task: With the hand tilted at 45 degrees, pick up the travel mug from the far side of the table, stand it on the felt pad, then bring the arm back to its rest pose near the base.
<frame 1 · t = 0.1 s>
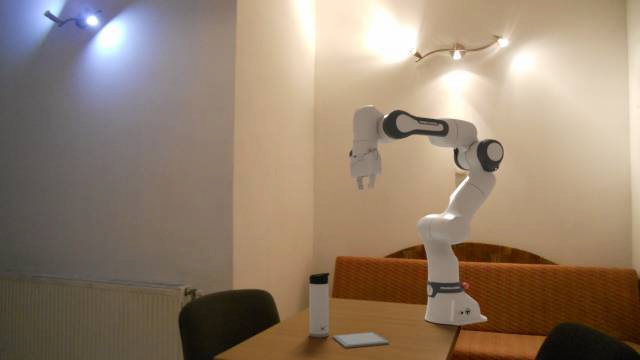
hand: (365, 189, 163), 48 cm above the table, tool pointing down, fingers open, 8 cm apart
felt pad: (359, 340, 141), on the table
travel mug: (319, 335, 148), on the table
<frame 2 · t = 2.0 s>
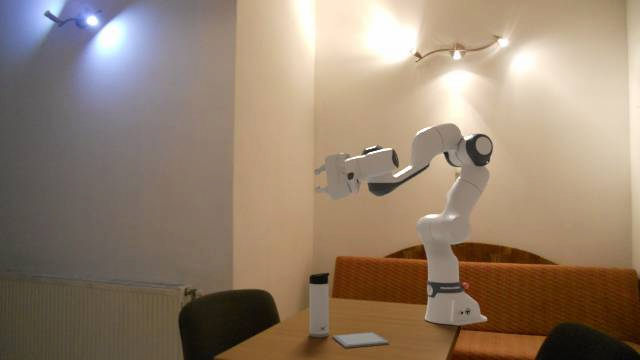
hand: (315, 181, 163), 51 cm above the table, tool horizontal, fingers open, 8 cm apart
nothing on the table moved.
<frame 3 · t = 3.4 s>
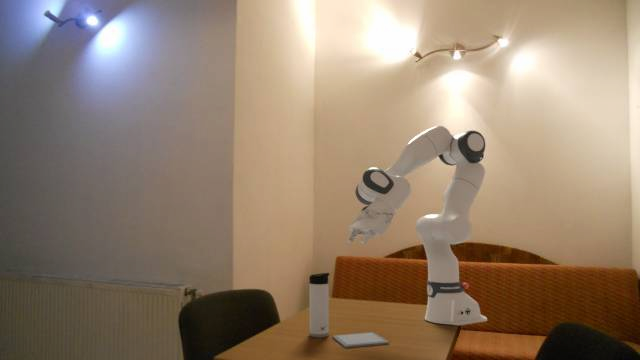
hand: (355, 241, 158), 30 cm above the table, tool tilted 45°, fingers open, 8 cm apart
nothing on the table moved.
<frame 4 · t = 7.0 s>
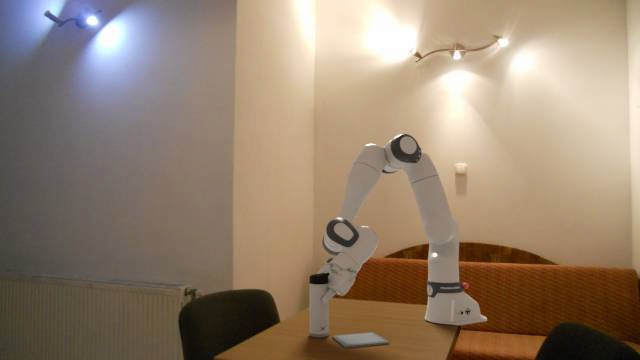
hand: (317, 299, 149), 11 cm above the table, tool tilted 45°, fingers closed on travel mug, 6 cm apart
travel mug: (319, 335, 148), on the table, touching gripper
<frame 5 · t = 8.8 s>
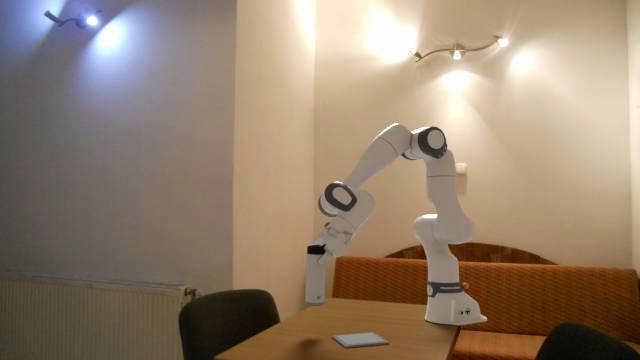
hand: (314, 261, 152), 23 cm above the table, tool tilted 45°, fingers closed on travel mug, 6 cm apart
travel mug: (315, 304, 151), point 9 cm above the table, touching gripper
when the fingers open (14 cm above the table, at t = 13.2 s): travel mug stays where it is, resting on felt pad.
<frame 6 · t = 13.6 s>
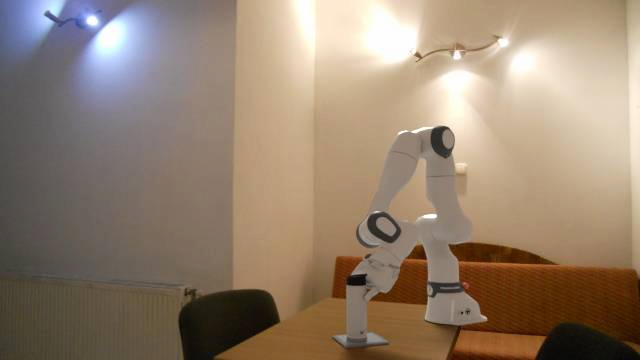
hand: (357, 296, 142), 13 cm above the table, tool tilted 45°, fingers open, 8 cm apart
travel mug: (357, 340, 140), resting on felt pad
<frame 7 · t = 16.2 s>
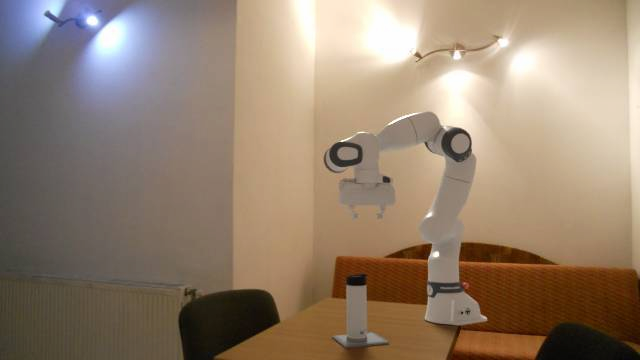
hand: (367, 218, 158), 37 cm above the table, tool pointing down, fingers open, 8 cm apart
nothing on the table moved.
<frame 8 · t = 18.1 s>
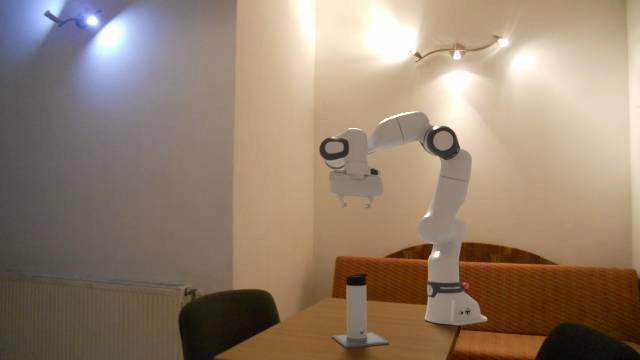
hand: (356, 208, 168), 41 cm above the table, tool pointing down, fingers open, 8 cm apart
nothing on the table moved.
at the end: travel mug 1.7 cm from the felt pad (horizontally); travel mug tilted 0°; the gripper is holding nothing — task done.
